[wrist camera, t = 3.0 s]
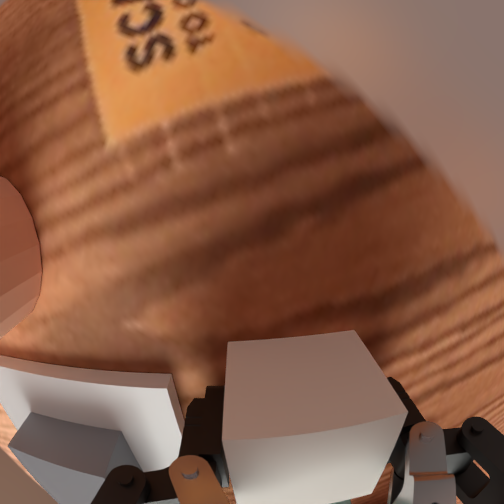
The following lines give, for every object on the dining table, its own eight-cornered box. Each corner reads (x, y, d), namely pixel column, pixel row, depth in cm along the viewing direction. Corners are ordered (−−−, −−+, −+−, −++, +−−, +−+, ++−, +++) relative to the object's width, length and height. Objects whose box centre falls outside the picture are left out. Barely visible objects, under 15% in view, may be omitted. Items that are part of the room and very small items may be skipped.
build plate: (171, 373, 11) (150, 445, 7) (212, 500, 14) (209, 547, 11) (-13, 352, 11) (-50, 387, 7) (63, 475, 14) (47, 510, 10)
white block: (353, 328, 11) (408, 411, 6) (341, 414, 13) (371, 493, 8) (227, 340, 11) (221, 440, 6) (238, 425, 12) (239, 513, 8)
